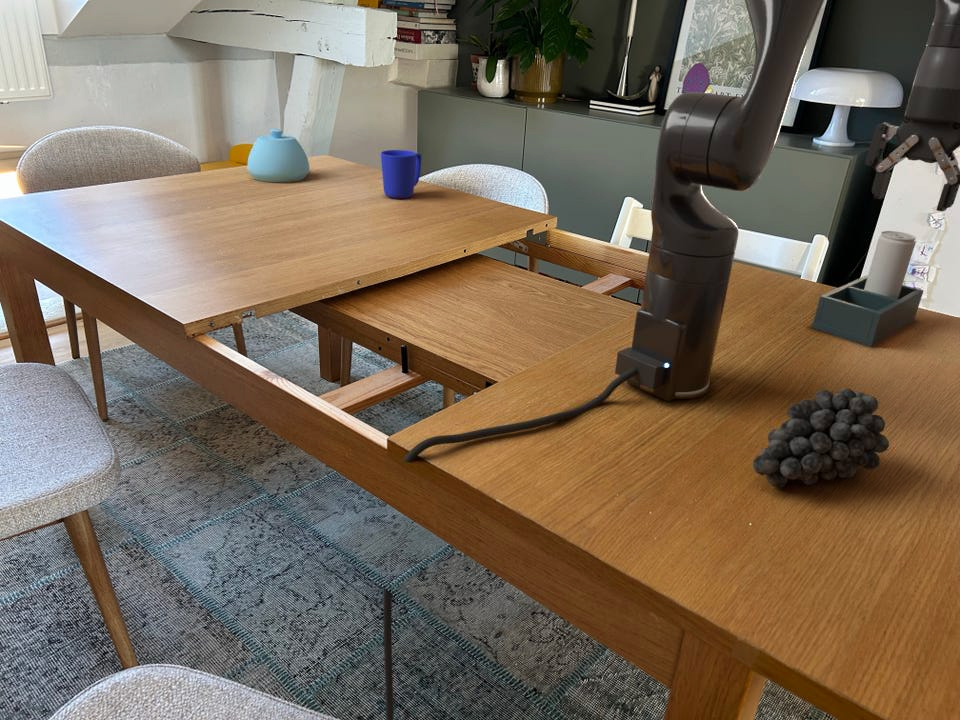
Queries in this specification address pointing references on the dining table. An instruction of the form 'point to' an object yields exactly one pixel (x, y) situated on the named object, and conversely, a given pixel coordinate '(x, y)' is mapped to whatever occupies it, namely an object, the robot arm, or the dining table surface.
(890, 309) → the divided storage box
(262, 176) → the sugar bowl
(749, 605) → the dining table surface
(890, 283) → the beverage can
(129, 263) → the dining table surface
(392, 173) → the mug
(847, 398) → the fruit
